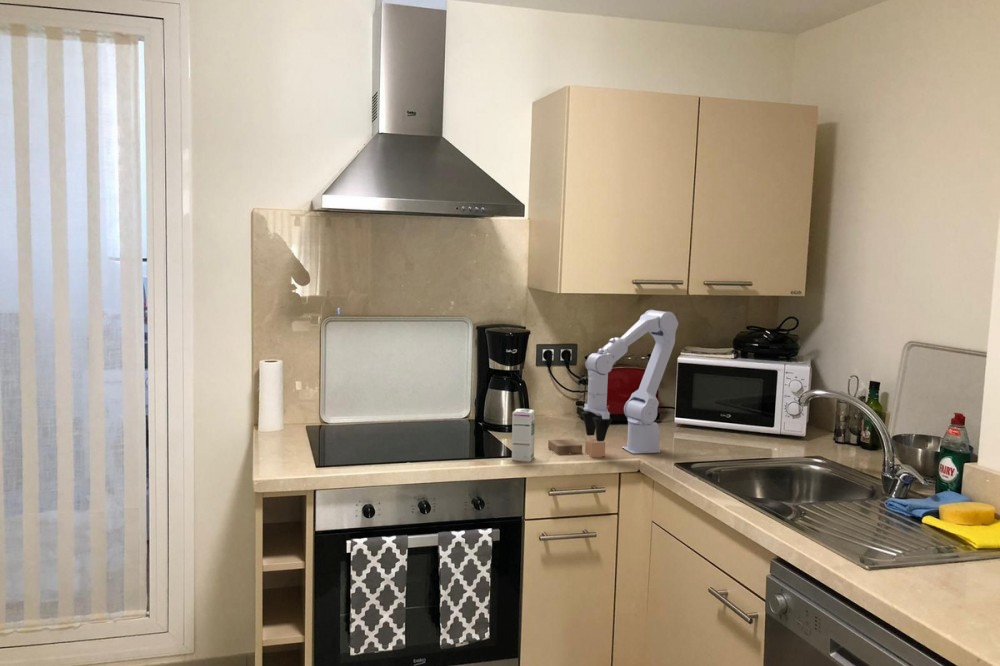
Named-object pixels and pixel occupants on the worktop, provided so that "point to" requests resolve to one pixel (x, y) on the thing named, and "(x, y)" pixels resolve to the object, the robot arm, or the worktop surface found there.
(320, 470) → the worktop surface
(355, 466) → the worktop surface
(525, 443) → the syrup box
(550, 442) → the walnut block
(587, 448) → the cube
